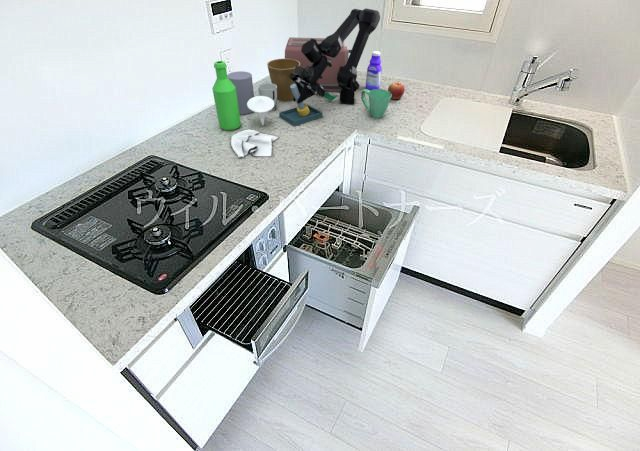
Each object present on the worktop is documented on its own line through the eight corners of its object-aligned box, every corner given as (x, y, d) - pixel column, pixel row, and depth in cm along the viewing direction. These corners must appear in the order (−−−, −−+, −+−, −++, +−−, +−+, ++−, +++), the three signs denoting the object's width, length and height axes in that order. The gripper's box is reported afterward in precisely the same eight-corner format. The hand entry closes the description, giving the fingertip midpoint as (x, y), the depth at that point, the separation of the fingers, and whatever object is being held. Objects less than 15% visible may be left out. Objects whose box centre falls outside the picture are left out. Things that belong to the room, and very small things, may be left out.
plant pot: (272, 92, 168) (269, 57, 158) (301, 93, 168) (301, 58, 158) (267, 104, 157) (264, 68, 147) (299, 105, 157) (298, 69, 147)
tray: (307, 108, 154) (306, 104, 153) (322, 116, 148) (322, 112, 147) (279, 116, 147) (279, 112, 146) (294, 126, 141) (294, 121, 139)
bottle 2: (363, 88, 174) (367, 52, 163) (367, 85, 178) (371, 49, 166) (376, 91, 172) (381, 54, 160) (380, 88, 175) (385, 51, 164)
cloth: (247, 127, 139) (246, 122, 137) (291, 141, 131) (291, 135, 129) (212, 148, 126) (210, 142, 124) (258, 165, 118) (257, 159, 116)
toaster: (350, 92, 170) (353, 48, 157) (283, 90, 170) (280, 46, 157) (348, 79, 185) (351, 37, 171) (286, 77, 185) (284, 36, 171)
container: (259, 107, 155) (255, 72, 145) (249, 116, 147) (245, 80, 137) (238, 104, 157) (233, 70, 147) (228, 113, 149) (222, 78, 139)
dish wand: (305, 107, 149) (294, 80, 138) (311, 111, 146) (301, 84, 135) (297, 114, 148) (285, 87, 137) (303, 118, 146) (292, 91, 134)
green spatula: (307, 92, 169) (307, 82, 166) (310, 91, 170) (310, 81, 167) (336, 105, 157) (337, 95, 154) (339, 104, 158) (340, 94, 155)
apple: (401, 94, 169) (404, 78, 164) (404, 101, 163) (407, 84, 158) (385, 94, 169) (387, 78, 163) (388, 101, 163) (390, 84, 158)
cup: (275, 113, 150) (273, 90, 143) (257, 111, 151) (255, 88, 144) (280, 106, 156) (279, 84, 149) (263, 104, 157) (261, 82, 150)
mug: (392, 116, 150) (396, 93, 143) (378, 122, 145) (382, 99, 138) (367, 106, 158) (369, 84, 151) (353, 112, 152) (355, 89, 146)
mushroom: (277, 129, 138) (275, 100, 130) (250, 131, 136) (246, 102, 128) (274, 119, 145) (272, 91, 138) (249, 120, 144) (245, 92, 136)
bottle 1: (222, 133, 135) (210, 67, 118) (217, 124, 141) (204, 60, 124) (244, 128, 138) (234, 64, 122) (237, 120, 144) (228, 57, 127)
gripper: (291, 51, 138) (271, 84, 140) (320, 62, 127) (297, 98, 129) (307, 68, 147) (287, 99, 149) (335, 80, 136) (313, 113, 138)
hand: (295, 101), depth 141 cm, fingers closed on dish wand, 2 cm apart
